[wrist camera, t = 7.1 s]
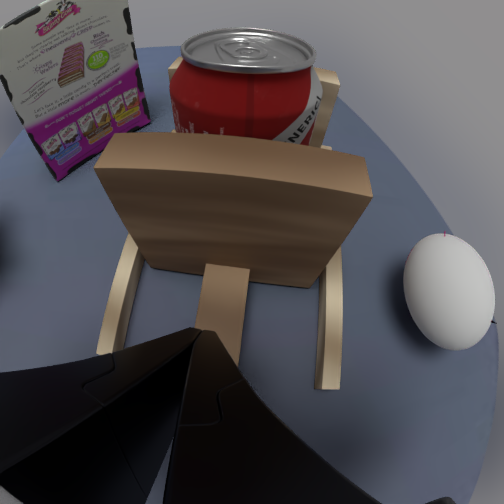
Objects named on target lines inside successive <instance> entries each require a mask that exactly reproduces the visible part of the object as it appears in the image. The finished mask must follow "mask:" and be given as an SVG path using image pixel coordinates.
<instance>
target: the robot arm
mask: <svg viewBox="0 0 504 504" xmlns="http://www.w3.org/2000/svg"><path fill="white" fill-rule="evenodd" d="M173 436H174V438H173ZM172 439H173V444H172V449H171V455H170V461H169V466H168V472H167V478H166V485H165V491H164V497H163V504H381V503H380V502H378V501H377V500H376V499H374V498H373V497H371V496H370V495H369V494H367V493H366V492H365V491H363V490H362V489H361V488H359V487H358V486H357V485H355V484H354V483H353V482H351V481H350V480H349V479H347V478H346V477H345V476H344V475H342V474H341V473H340V472H339V471H337V470H336V469H335V468H334V467H333V466H331V465H330V464H329V463H328V462H327V461H325V460H324V459H323V458H322V457H321V456H320V455H318V454H317V453H316V452H315V451H314V450H313V449H312V448H310V447H309V446H308V445H307V444H306V443H305V442H304V441H303V440H302V439H300V438H299V437H298V436H297V435H296V434H295V433H294V432H293V431H292V430H291V429H290V428H289V427H288V426H287V425H286V424H284V423H283V422H282V421H281V420H280V419H279V418H278V417H277V416H276V415H275V414H274V413H273V412H272V411H271V410H270V409H269V408H268V407H267V406H266V404H265V403H264V402H263V401H262V400H261V399H260V398H259V397H258V395H257V394H256V393H255V391H254V390H253V389H252V387H251V386H250V384H249V383H248V381H247V380H246V379H245V378H244V376H243V374H242V373H241V371H240V370H239V368H238V367H237V365H236V364H235V362H234V361H233V359H232V357H231V356H230V354H229V353H228V351H227V349H226V348H225V346H224V345H223V343H222V341H221V340H220V338H219V336H218V335H217V333H216V332H215V331H211V330H203V331H202V330H201V329H198V328H192V327H189V328H186V329H184V330H181V331H178V332H175V333H172V334H169V335H166V336H163V337H160V338H157V339H154V340H151V341H147V342H144V343H141V344H138V345H135V346H132V347H128V348H125V349H122V350H119V351H115V352H112V353H107V354H103V355H100V356H96V357H92V358H88V359H85V360H80V361H75V362H70V363H64V364H59V365H53V366H47V367H40V368H33V369H26V370H19V371H11V372H2V373H0V504H145V503H146V500H147V498H148V495H149V493H150V491H151V488H152V486H153V484H154V481H155V479H156V477H157V474H158V472H159V469H160V467H161V465H162V462H163V460H164V458H165V455H166V453H167V451H168V448H169V446H170V443H171V441H172ZM426 504H456V503H455V502H454V501H453V500H452V498H450V497H443V498H439V499H436V500H434V501H431V502H428V503H426Z"/></svg>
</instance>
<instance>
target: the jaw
mask: <svg viewBox="0 0 504 504" xmlns="http://www.w3.org/2000/svg"><path fill="white" fill-rule="evenodd" d="M94 170H95V172H96V174H97V176H98V178H99V180H100V182H101V184H102V186H103V188H104V189H105V191H106V193H107V195H108V197H109V199H110V201H111V202H112V204H113V206H114V208H115V210H116V211H117V213H118V215H119V217H120V218H121V220H122V222H123V224H124V225H125V227H126V229H127V230H128V232H129V234H130V235H131V237H132V239H133V240H134V242H135V244H136V245H137V247H138V248H139V250H140V252H141V253H142V255H143V256H144V258H145V260H146V261H147V263H148V264H149V266H150V267H151V268H157V269H164V270H171V271H177V272H184V273H191V274H199V275H204V277H203V283H202V288H201V294H200V299H199V305H198V311H197V316H196V322H195V328H198V329H201V330H202V331H203V330H211V331H215V332H216V333H217V335H218V336H219V338H220V340H221V341H222V343H223V345H224V346H225V348H226V349H227V351H228V353H229V354H230V356H231V357H232V359H233V361H234V362H235V364H236V365H237V367H238V362H239V354H240V346H241V338H242V329H243V321H244V313H245V305H246V296H247V288H248V281H252V282H261V283H269V284H278V285H287V286H296V287H305V288H310V287H311V286H312V284H313V283H314V282H315V280H316V279H317V278H318V276H319V275H320V274H321V272H322V271H323V269H324V268H325V267H326V265H327V264H328V263H329V261H330V260H331V258H332V257H333V256H334V254H335V253H336V251H337V250H338V249H339V247H340V246H341V244H342V243H343V241H344V240H345V238H346V237H347V236H348V234H349V233H350V231H351V230H352V228H353V227H354V225H355V224H356V222H357V221H358V219H359V218H360V216H361V215H362V213H363V212H364V210H365V209H366V207H367V206H368V204H369V202H370V201H371V199H372V198H373V195H372V190H371V185H370V180H369V176H368V171H367V167H366V162H365V158H364V157H360V156H356V155H351V154H347V153H342V152H338V151H333V150H328V149H323V148H317V147H312V146H306V145H300V144H294V143H287V142H281V141H273V140H266V139H257V138H249V137H239V136H228V135H215V134H198V133H170V132H137V133H115V134H114V135H113V137H112V138H111V140H110V141H109V143H108V144H107V146H106V148H105V149H104V151H103V152H102V154H101V156H100V157H99V159H98V161H97V162H96V164H95V166H94Z"/></svg>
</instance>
